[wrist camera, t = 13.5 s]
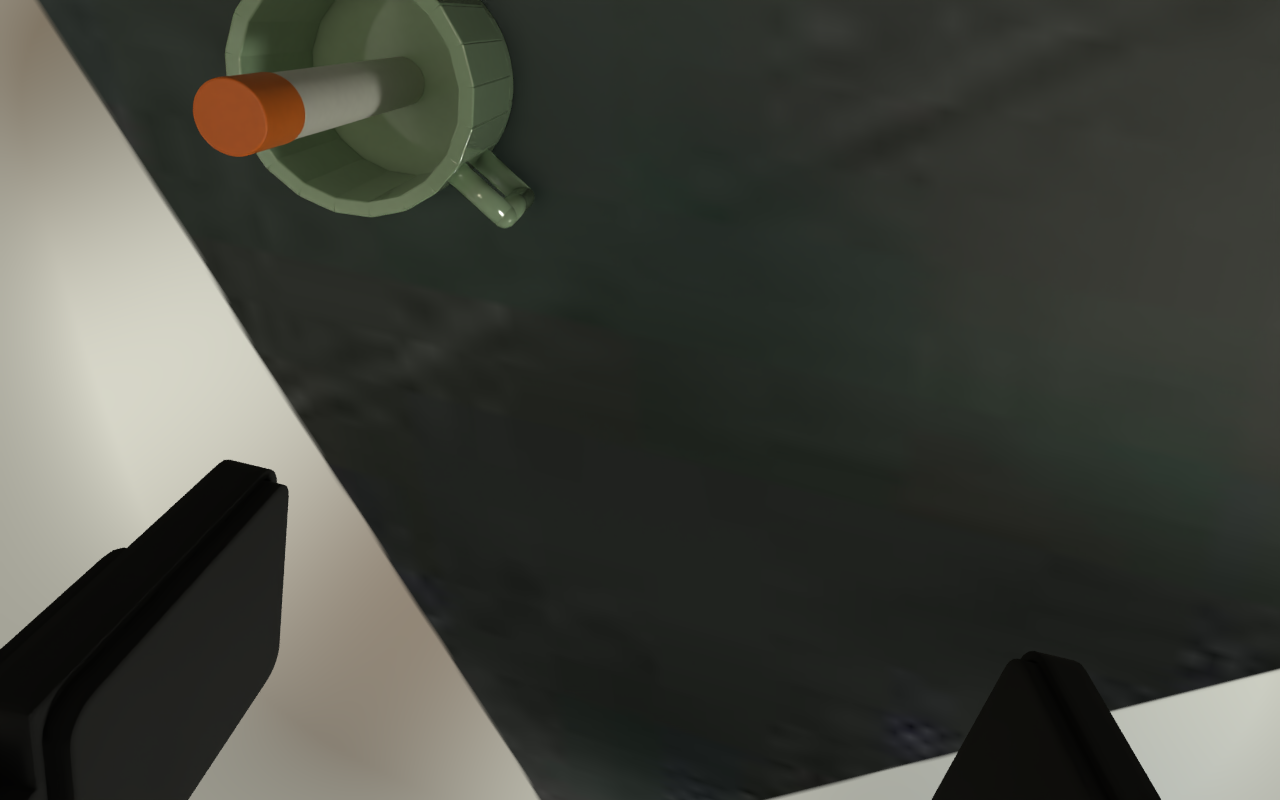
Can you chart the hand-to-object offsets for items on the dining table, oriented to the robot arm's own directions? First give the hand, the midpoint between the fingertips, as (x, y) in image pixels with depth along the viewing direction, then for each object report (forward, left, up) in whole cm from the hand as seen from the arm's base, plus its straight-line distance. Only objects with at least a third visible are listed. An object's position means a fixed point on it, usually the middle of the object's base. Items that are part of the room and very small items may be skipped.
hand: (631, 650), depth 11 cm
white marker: (-2, -13, -30) cm, 32 cm away
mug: (-1, -12, -30) cm, 33 cm away
